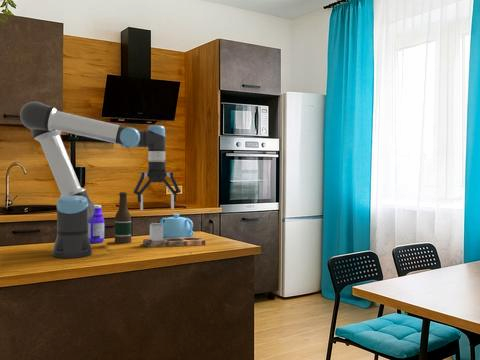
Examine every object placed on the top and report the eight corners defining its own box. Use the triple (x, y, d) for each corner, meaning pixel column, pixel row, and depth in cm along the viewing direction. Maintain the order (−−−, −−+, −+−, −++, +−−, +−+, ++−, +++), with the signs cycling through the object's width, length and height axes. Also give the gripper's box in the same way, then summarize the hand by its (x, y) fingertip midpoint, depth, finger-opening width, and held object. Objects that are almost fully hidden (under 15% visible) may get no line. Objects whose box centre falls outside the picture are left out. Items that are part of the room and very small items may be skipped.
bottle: (99, 240, 231) (99, 204, 230) (106, 241, 227) (106, 205, 227) (86, 242, 225) (86, 205, 225) (93, 243, 222) (93, 206, 221)
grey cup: (151, 246, 210) (151, 224, 209) (149, 244, 214) (149, 223, 214) (163, 245, 211) (163, 224, 211) (160, 244, 216) (160, 222, 216)
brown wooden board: (146, 250, 206) (146, 242, 206) (143, 246, 216) (143, 239, 216) (205, 247, 215) (205, 240, 215) (199, 243, 225) (199, 236, 225)
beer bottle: (134, 243, 223) (134, 191, 222) (128, 246, 215) (128, 192, 215) (117, 243, 224) (117, 191, 223) (111, 246, 216) (111, 192, 215)
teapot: (150, 240, 233) (150, 214, 233) (171, 234, 252) (172, 210, 251) (185, 243, 226) (186, 216, 225) (205, 237, 244) (205, 212, 243)
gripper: (128, 161, 204) (129, 211, 204) (186, 161, 212) (186, 209, 213) (126, 161, 211) (127, 209, 212) (182, 161, 219) (183, 207, 220)
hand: (157, 209), depth 212 cm, fingers open, 13 cm apart
